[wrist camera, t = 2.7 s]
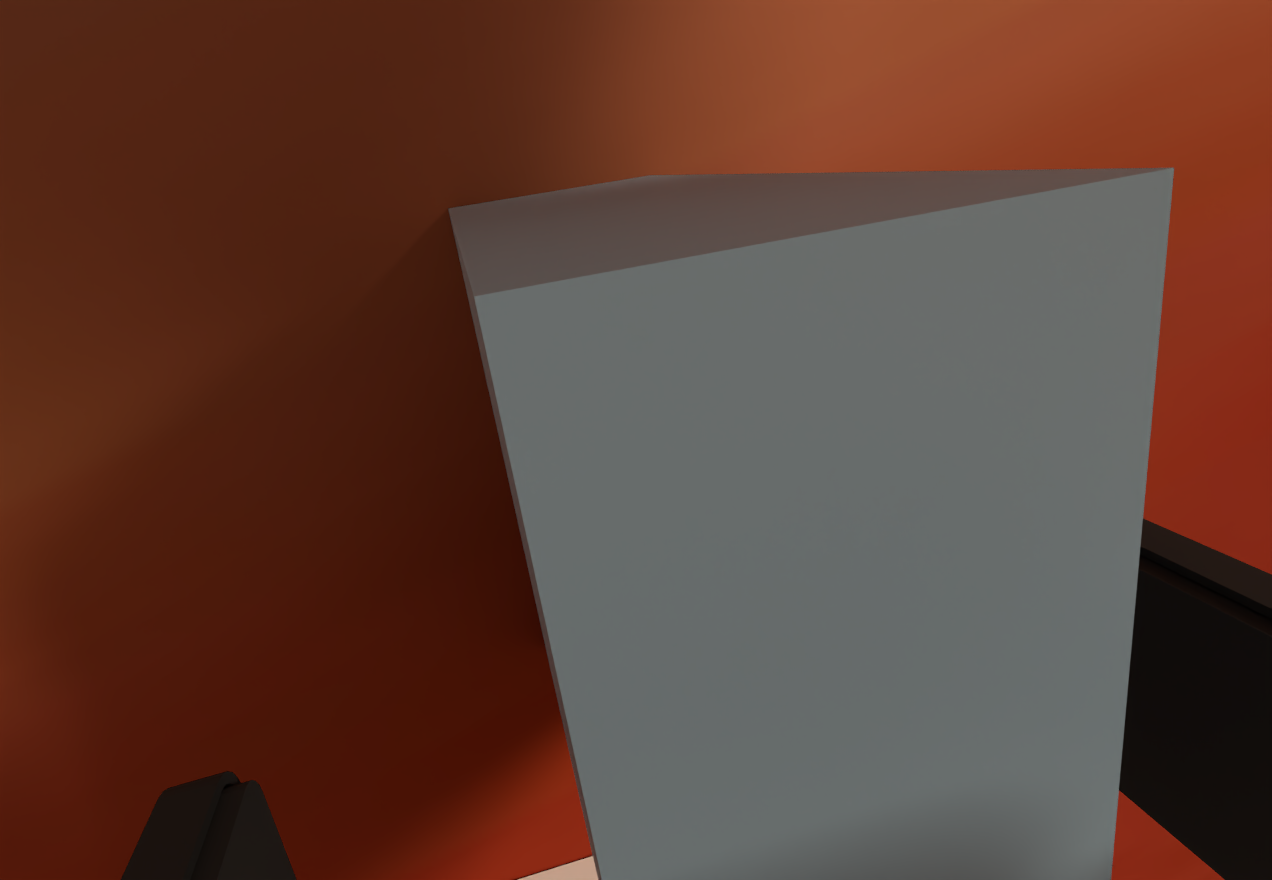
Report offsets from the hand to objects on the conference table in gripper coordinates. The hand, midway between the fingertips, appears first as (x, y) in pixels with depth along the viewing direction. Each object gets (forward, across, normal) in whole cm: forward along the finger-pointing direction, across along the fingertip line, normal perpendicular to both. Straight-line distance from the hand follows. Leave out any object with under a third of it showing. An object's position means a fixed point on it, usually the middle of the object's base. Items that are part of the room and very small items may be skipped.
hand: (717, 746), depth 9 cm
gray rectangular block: (+9, -1, -1) cm, 9 cm away
